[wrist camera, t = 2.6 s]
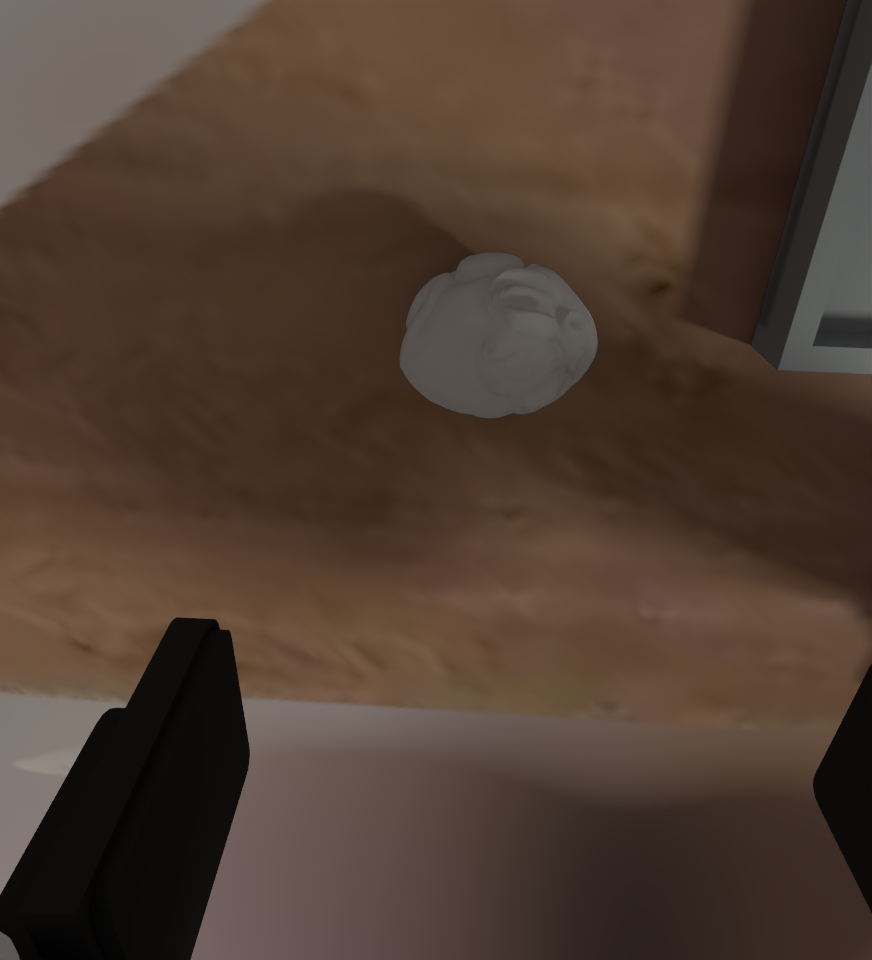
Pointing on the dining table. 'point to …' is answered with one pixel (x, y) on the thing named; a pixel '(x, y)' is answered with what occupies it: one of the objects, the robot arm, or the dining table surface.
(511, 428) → the dining table surface
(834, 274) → the tray
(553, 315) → the frog figurine
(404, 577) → the dining table surface
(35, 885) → the robot arm
